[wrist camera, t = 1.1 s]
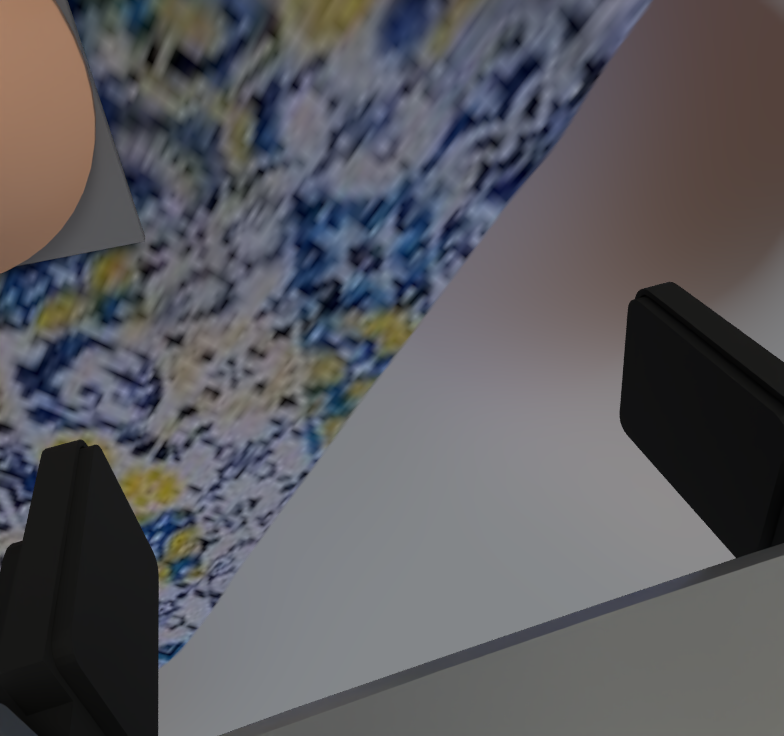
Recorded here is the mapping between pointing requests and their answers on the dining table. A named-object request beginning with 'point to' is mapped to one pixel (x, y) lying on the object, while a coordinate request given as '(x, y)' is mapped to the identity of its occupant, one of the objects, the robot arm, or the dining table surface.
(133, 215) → the mat
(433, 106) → the dining table surface
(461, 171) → the dining table surface
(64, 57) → the lid
